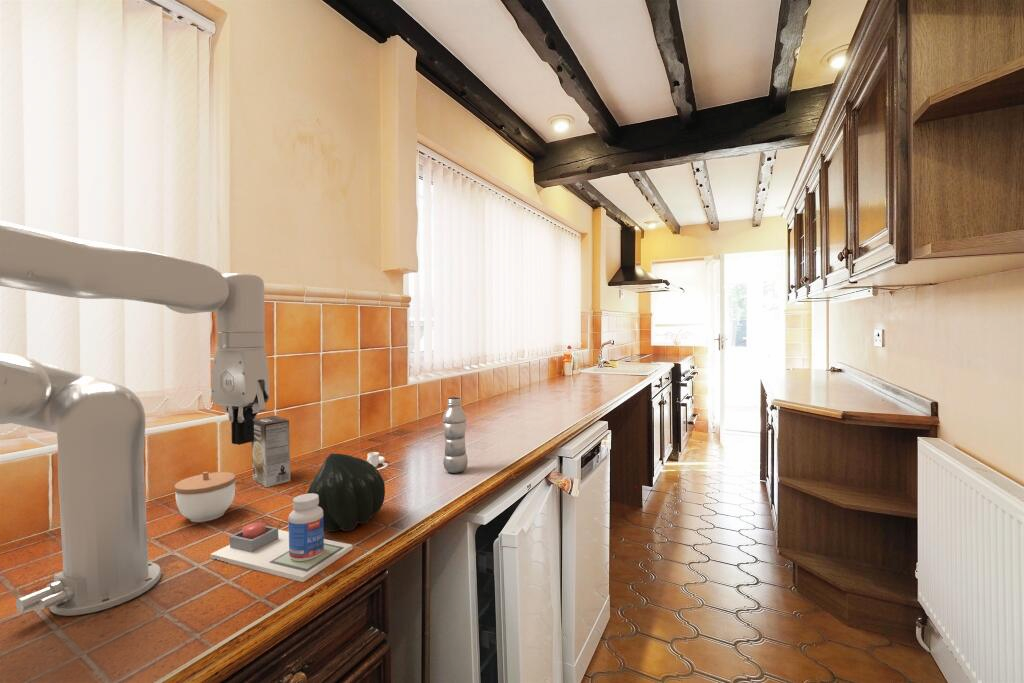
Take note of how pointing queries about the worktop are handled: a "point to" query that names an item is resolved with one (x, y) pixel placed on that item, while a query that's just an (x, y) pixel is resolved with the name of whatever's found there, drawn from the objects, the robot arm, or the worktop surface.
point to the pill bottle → (306, 528)
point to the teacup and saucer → (376, 460)
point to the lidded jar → (205, 495)
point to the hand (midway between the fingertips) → (243, 442)
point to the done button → (254, 530)
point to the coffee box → (271, 451)
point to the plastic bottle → (454, 436)
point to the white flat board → (277, 555)
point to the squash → (347, 491)
